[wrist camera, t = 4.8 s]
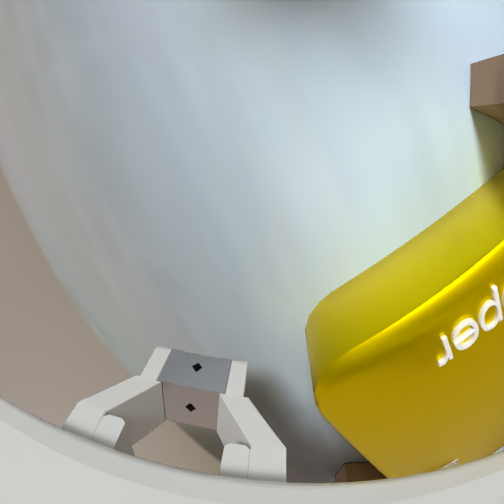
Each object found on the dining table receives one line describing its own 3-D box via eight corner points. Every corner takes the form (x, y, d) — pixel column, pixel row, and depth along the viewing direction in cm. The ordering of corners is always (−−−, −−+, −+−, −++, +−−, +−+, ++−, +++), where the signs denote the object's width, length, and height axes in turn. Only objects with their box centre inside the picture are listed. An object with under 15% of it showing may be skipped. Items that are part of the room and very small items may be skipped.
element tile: (531, 137, 9) (600, 147, 4) (558, 335, 12) (592, 370, 8) (285, 314, 13) (288, 396, 8) (397, 454, 16) (411, 506, 11)
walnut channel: (550, 115, 8) (597, 118, 4) (406, 470, 16) (416, 505, 13) (470, 63, 8) (523, 48, 5) (334, 476, 16) (339, 516, 13)
